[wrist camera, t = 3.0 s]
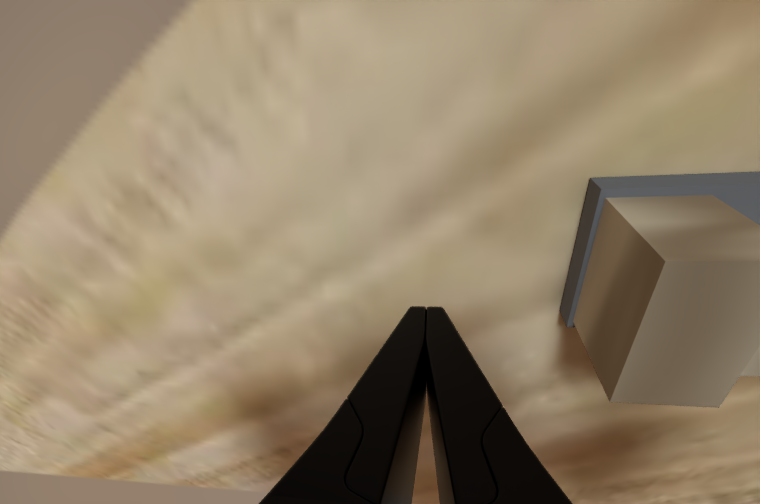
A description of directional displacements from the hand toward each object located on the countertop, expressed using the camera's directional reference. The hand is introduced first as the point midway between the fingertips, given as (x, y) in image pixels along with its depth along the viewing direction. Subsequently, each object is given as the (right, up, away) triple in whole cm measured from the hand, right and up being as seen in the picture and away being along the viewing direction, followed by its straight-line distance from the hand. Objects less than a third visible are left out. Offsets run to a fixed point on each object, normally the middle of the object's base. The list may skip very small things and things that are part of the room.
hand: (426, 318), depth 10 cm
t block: (+9, +1, +1) cm, 9 cm away
